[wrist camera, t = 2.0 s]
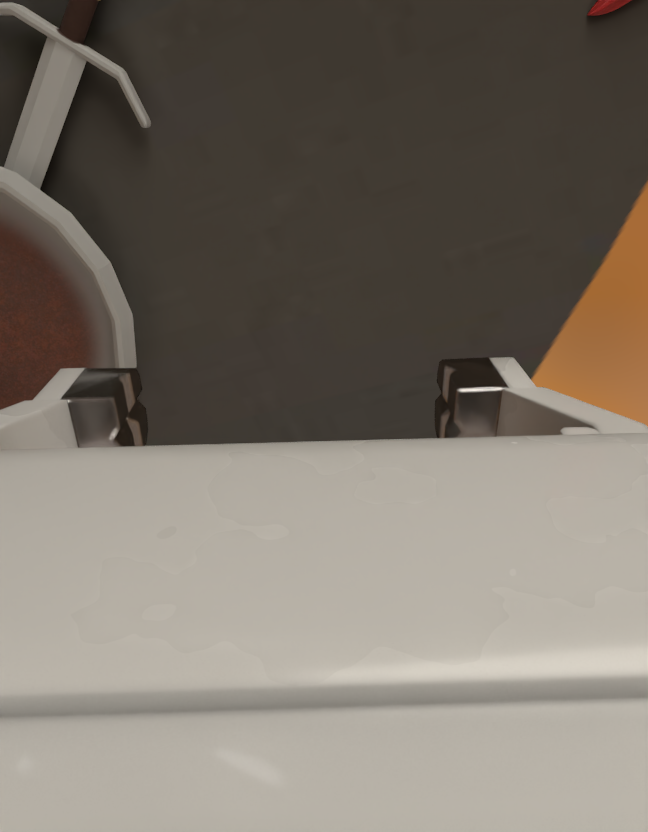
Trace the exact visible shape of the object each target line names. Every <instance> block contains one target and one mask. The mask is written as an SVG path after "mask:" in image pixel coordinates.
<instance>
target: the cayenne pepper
mask: <svg viewBox="0 0 648 832" xmlns="http://www.w3.org/2000/svg"><path fill="white" fill-rule="evenodd" d="M630 1H631V0H598V1H597V2H596V3H595V5H594V6H593V7H592V8H591V10H590V11H589V13H588V15H591V16H595V15H602V14H606V13H609V12H612V11H614V10H616V9H618V8H620V7H621V6H623V5H625V4H626V3H628V2H630Z"/></svg>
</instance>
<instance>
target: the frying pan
mask: <svg viewBox="0 0 648 832" xmlns="http://www.w3.org/2000/svg"><path fill="white" fill-rule="evenodd" d="M98 1H100V0H69V2H68V5H67V8H66V11H65V14H64V17H63V20H62V23H61V26H60V29H59V28H57V27H56V26H54V25H53V24H51V23H49V22H48V21H46V20H45V19H43V18H41V17H40V16H38V15H37V14H35V13H33V12H32V11H30V10H29V9H27V8H25V7H24V6H22V5H19V4H15V3H0V16H2V15H14V16H16V17H17V18H19V19H20V20H22V21H24V22H25V23H27V24H28V25H30V26H32V27H33V28H35V29H36V30H38V31H40V32H41V33H43V34H45V35H46V36H47V39H46V42H45V45H44V48H43V51H42V54H41V57H40V60H39V63H38V66H37V69H36V72H35V75H34V78H33V81H32V84H31V87H30V90H29V93H28V96H27V99H26V102H25V105H24V108H23V111H22V114H21V117H20V120H19V123H18V126H17V129H16V132H15V135H14V138H13V141H12V144H11V147H10V150H9V153H8V156H7V159H6V162H5V165H4V168H3V167H1V166H0V410H1V409H4V408H7V407H9V406H12V405H14V404H17V403H20V402H22V401H29V400H33V399H34V398H35V397H36V396H37V395H38V393H39V392H40V391H41V390H42V389H43V388H44V387H45V386H46V385H47V383H48V382H49V381H50V380H51V379H52V378H53V377H54V376H55V375H56V373H57V372H58V371H59V370H60V369H64V368H136V366H137V362H136V350H135V338H134V325H133V315H132V312H131V310H130V308H129V305H128V303H127V300H126V298H125V296H124V293H123V291H122V288H121V286H120V284H119V281H118V279H117V276H116V274H115V272H114V269H113V267H112V264H111V262H110V261H109V260H108V259H107V257H106V256H105V255H104V254H103V252H102V251H101V250H100V249H99V247H98V246H97V245H96V244H95V242H94V241H93V240H92V239H91V237H90V236H89V235H88V233H87V232H86V231H85V230H84V228H83V227H82V226H81V225H80V223H79V222H78V221H77V220H76V218H75V217H74V216H73V215H72V213H71V212H69V211H68V210H66V209H65V208H64V207H62V206H61V205H60V204H58V203H57V202H56V201H54V200H53V199H52V198H50V197H49V196H47V195H46V194H45V193H43V192H42V191H41V190H40V188H41V185H42V182H43V179H44V177H45V174H46V171H47V168H48V166H49V163H50V160H51V157H52V155H53V152H54V149H55V146H56V144H57V141H58V138H59V135H60V133H61V130H62V127H63V124H64V122H65V119H66V116H67V113H68V111H69V108H70V105H71V102H72V100H73V97H74V94H75V91H76V89H77V86H78V83H79V80H80V78H81V75H82V72H83V69H84V67H85V64H86V61H88V62H90V63H91V64H93V65H95V66H96V67H98V68H99V69H101V70H103V71H104V72H106V73H107V74H109V75H111V76H112V77H114V78H116V79H117V80H118V82H119V84H120V86H121V88H122V90H123V92H124V94H125V96H126V98H127V100H128V102H129V104H130V106H131V107H132V109H133V111H134V113H135V115H136V117H137V119H138V121H139V123H140V125H141V127H144V128H147V127H150V125H151V122H150V119H149V117H148V115H147V113H146V111H145V109H144V107H143V105H142V103H141V101H140V99H139V97H138V95H137V93H136V91H135V89H134V87H133V85H132V83H131V81H130V79H129V77H128V75H127V73H126V72H125V70H124V69H123V68H121V67H120V66H118V65H116V64H115V63H113V62H112V61H110V60H108V59H107V58H105V57H104V56H102V55H100V54H99V53H97V52H96V51H94V50H93V49H91V48H89V47H88V46H86V45H85V44H83V43H84V40H85V38H86V35H87V32H88V29H89V26H90V24H91V21H92V18H93V15H94V13H95V10H96V7H97V4H98Z"/></svg>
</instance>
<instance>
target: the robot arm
mask: <svg viewBox="0 0 648 832" xmlns="http://www.w3.org/2000/svg"><path fill="white" fill-rule="evenodd" d="M437 383H438V386H439V388H440V390H441V394H440V396H439V397H438V398H437V399H436V400H435V430H436V435H437V438H424V439H387V440H350V441H313V442H275V443H238V444H201V445H164V446H145V444H146V441H147V433H148V422H147V414H146V408H145V407H144V406H143V405H142V404H141V403H140V402H139V401H138V400H137V398H138V396H139V394H140V392H141V390H142V385H141V380H140V376H139V373H138V371H137V369H136V368H64V369H60V370H59V371H58V372H57V373H56V375H55V376H54V377H53V378H52V379H51V380H50V381H49V382H48V383H47V385H46V386H45V387H44V388H43V389H42V390H41V391H40V392H39V393H38V395H37V396H36V397H35V398H34V399H33V400H29V401H22V402H20V403H17V404H14V405H12V406H9V407H7V408H4V409H1V410H0V832H648V427H647V426H646V425H645V424H643V423H640V422H637V421H634V420H631V419H629V418H626V417H624V416H621V415H618V414H615V413H612V412H610V411H607V410H604V409H602V408H599V407H596V406H594V405H591V404H588V403H585V402H583V401H580V400H577V399H574V398H572V397H569V396H566V395H563V394H561V393H558V392H555V391H553V390H550V389H547V388H544V387H536V386H535V385H534V383H533V382H532V381H531V379H530V378H529V377H528V376H527V374H526V373H525V372H524V371H523V369H522V368H521V367H520V365H519V364H518V363H517V362H516V360H515V359H514V358H512V357H502V358H489V357H488V358H466V359H445V360H441V361H440V362H439V366H438V373H437Z"/></svg>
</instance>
